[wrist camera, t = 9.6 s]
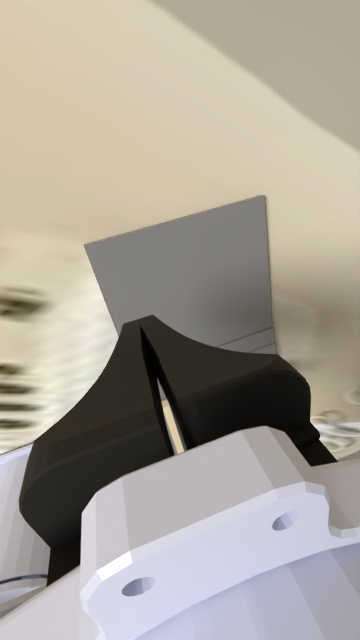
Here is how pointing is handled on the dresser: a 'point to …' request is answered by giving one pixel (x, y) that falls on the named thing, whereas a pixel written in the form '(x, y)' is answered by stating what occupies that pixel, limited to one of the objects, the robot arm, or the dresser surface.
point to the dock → (193, 281)
